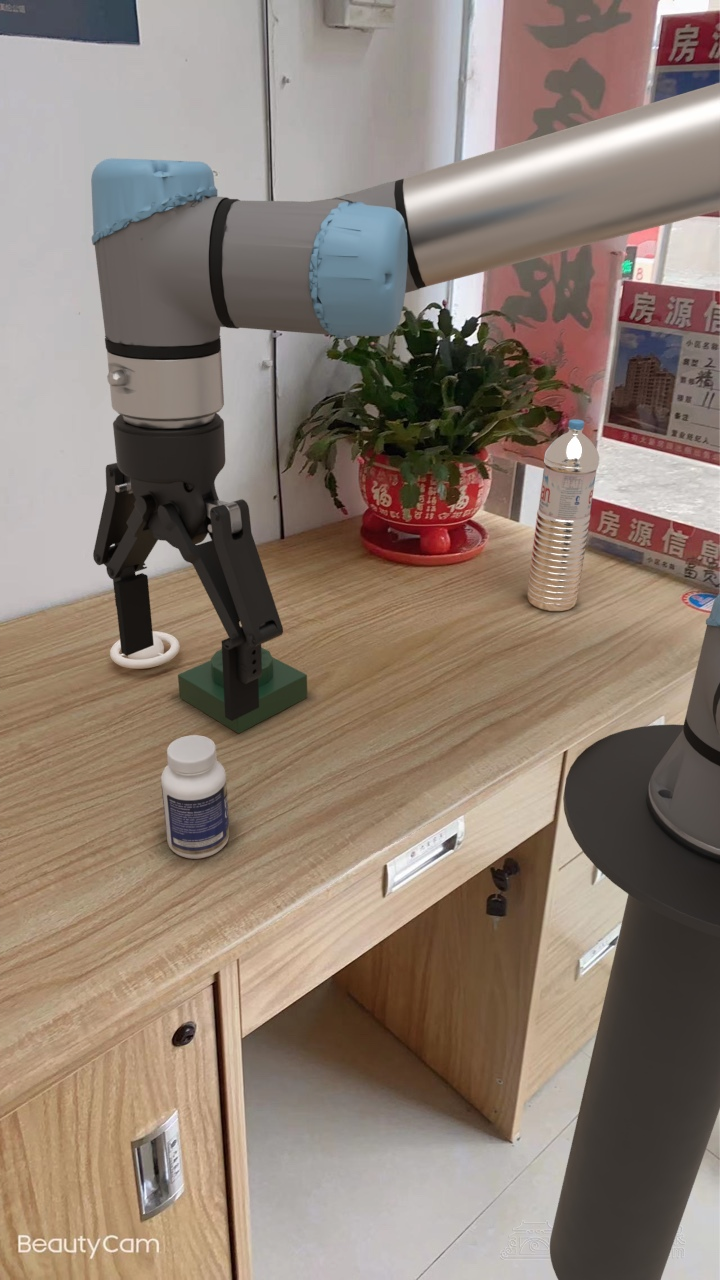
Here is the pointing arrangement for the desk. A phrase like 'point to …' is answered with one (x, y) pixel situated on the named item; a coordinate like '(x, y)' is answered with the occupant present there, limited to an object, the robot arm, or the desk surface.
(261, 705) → the green square peg base
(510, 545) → the desk surface
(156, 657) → the ring around a ball
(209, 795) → the pill bottle
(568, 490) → the water bottle
